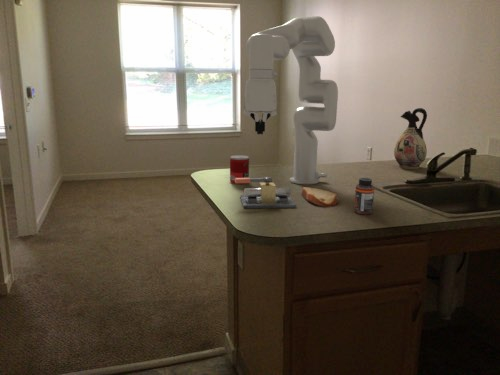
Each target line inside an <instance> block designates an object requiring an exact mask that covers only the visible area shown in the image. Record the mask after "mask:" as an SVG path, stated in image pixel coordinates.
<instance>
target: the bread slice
mask: <svg viewBox="0 0 500 375" xmlns="http://www.w3.org/2000/svg"><path fill="white" fill-rule="evenodd" d="M301 195H302V197H303V198H304V199H305V200H307V201H308V202H309V203H311V204H314V205H315V206H318V207H324V208H329V207H336V205H337V204H338V203H340V202H339V201H340V200H339V197H338V194H336V193H334V192H332V191H329V190H325V189H319V188H313V187H308V186H307V187H304V186H303V187H302V190H301Z"/></svg>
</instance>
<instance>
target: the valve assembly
mask: <svg viewBox="0 0 500 375" xmlns="http://www.w3.org/2000/svg"><path fill="white" fill-rule="evenodd" d="M258 183H259V185H258V186H259V187H256V188H255V187H247V188H244V190H243V191H244V192H243V194H239V199H240V201H241V205H242V207H243V209H276V208H277V209H280V208H281V209H285V208H286V209H287V208H294V209H296V208H297V203H296V201H294V200H293V199H292V197H291V194H292V193H291V188H290V187H276V186H277V185H276V184H275V183H274V182H258Z"/></svg>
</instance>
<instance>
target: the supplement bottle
mask: <svg viewBox="0 0 500 375" xmlns="http://www.w3.org/2000/svg"><path fill="white" fill-rule="evenodd" d="M374 197H375V187H374V186H373V179H371V178H370V177H369V178H368V177H360V178H359V179H358V184H357V185H356V186H355V193H354V203H353V204H354V207H353V211H354V212H355V214H358V215H371V214H372V213H373V208H374Z"/></svg>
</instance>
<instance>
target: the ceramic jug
mask: <svg viewBox="0 0 500 375" xmlns="http://www.w3.org/2000/svg"><path fill="white" fill-rule="evenodd" d="M418 113H421V115H422V120H421V121H420V118H419V116H418V115H417V114H418ZM400 118H402V119H404V120H406V121H408V126H407V127H406V129H405V130H404V131H403V132H402V134H401V135H400V137H399V138H398V140H397V141H396V144H395V146H394V147H395V148H394V150H393V155H394V159H395V161H396V163H397V164H398V166H399V168H400V169H406V170H407V169H408V170H416V169H417V170H418V169H420V165H422V164H423V162H425V160H426V158H427V152H428V151H427V145H426V141H425V139H424V134H423V128H424V126H425V123H426V121H427V118H428V114H427V110H425V109H424V108H422V107H419V108H415V109H414V110H413V111H410V110H407V111H404V112H403V114H401V115H400ZM417 122H421V123H420V124H419V127H418V126H417Z"/></svg>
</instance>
